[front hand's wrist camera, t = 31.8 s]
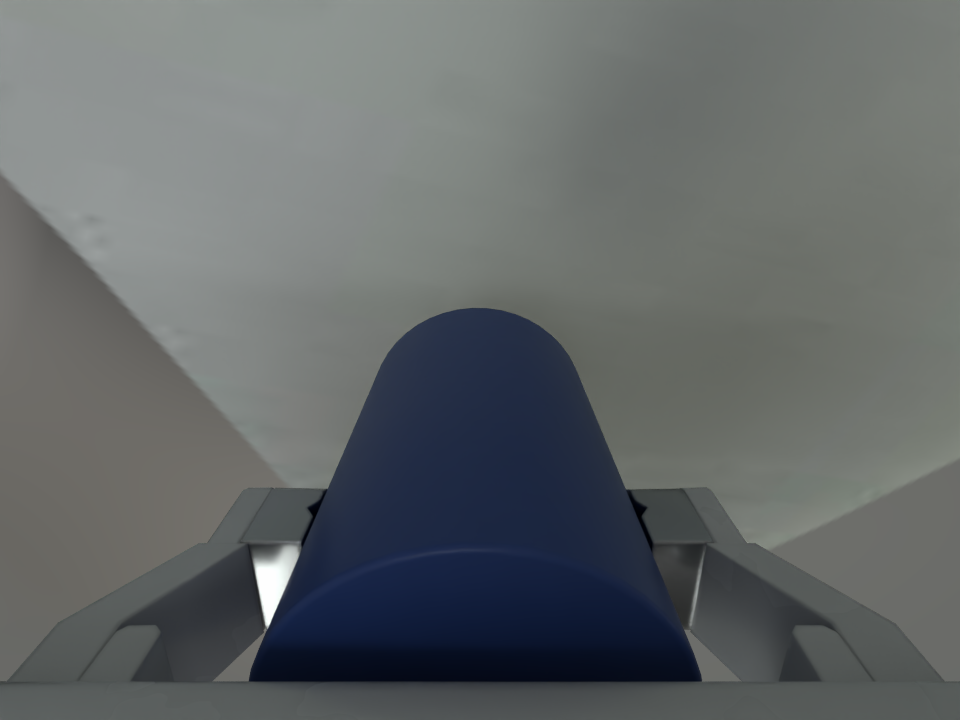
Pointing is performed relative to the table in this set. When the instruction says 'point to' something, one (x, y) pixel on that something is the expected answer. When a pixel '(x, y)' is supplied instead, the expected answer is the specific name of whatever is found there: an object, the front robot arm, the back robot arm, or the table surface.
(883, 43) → the table surface
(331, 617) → the can
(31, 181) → the table surface
